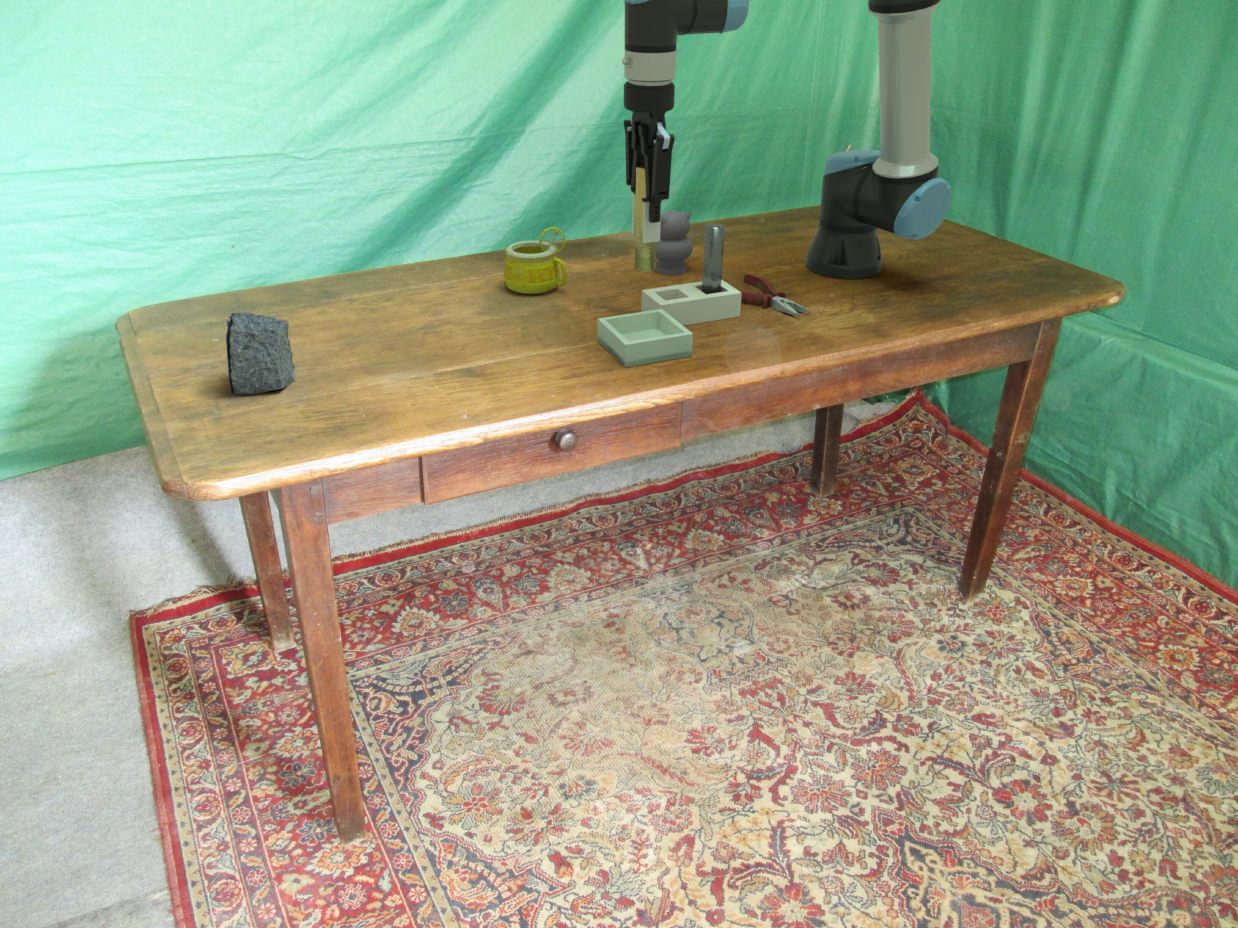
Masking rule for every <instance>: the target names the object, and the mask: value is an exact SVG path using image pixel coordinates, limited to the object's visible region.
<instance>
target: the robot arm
mask: <svg viewBox="0 0 1238 928" xmlns="http://www.w3.org/2000/svg"><path fill="white" fill-rule="evenodd" d="M752 1H753V0H623V2H624V58H622V59H621V63H622V65H623V66H624V67H623V68H624V70H623V71H624V75H623V77H624V78H625V79H626V80H628V81H626V82H625V83H624V84H623V107H624V109H626V110H627V111H630V112H632V114H631V119H624V120H623V128H624V129H623V130H624V134H625V135H624V136H625V142H624V143H625V181H626V182H625V183H626V185H627V186H630V192H631V193H632V205H631V206H632V211H631V212H632V213H631V215H632V216H631V217H632V219H631V220H632V221H631V230H632V231H631V235H633V237H635V204H636V167H637V166H639V165H645V183H646V198H642V201H643V236H642V242H643V243H649V242H657V241H660V225H661V214H662V201H664V200H669V199H670V189H671V188H670V187H671V171H672V157H673V156H672V154H673V148H674V144H675V141H676V140H675V139H676V138H675V134H674V133H670V134H669V133H667V129H666V128H667V123H666V116H665V115H666V113H667V112H670V111H672V110H673V109H674V107H675V95H676V94H675V93H676V90H675V89H676V85H675V83H674V82H673V81H674V80H675V79H676V74H677V43H678V42H677V41H678V36H685V35H699V34H700V35H702V34H719V35H722V34H724V33H727V32H734V31H737V30H739V29H740V28H741V27H742V26H744V24H745V22H746V20H747V17H748V14H749V9H750V8H749V6H750V5H749V3H750V2H752ZM941 2H942V0H867V3H868V12H869V13H870V14H871V15H872V16H873V17H875V18H876V19H877V26H878V28H877V30H878V31H877V32H878V73H879V75H878V79H879V81H878V84H879V85H878V86H879V90H878V91H879V134H880V137H879V140H880V150H877V149H875V150H874V149H859V150H857V149H856V150H844V151H837V152H834V153H832V154H830V155H829V156H828V157H827V159H826V162H825V169H824V173H823V177H822V178H823V180H822V188H821V200H820V208H819V209H820V210H819V218H818V219H819V221H818V228H817V230H816V233H815V234H814V237H813V239H812V242H811V245H810V248H809V249H808V251H807V253H806V259H805V265H806V267H807V269H809V270H810V271H811V272H814V273H816V274H819V275H821V276H826V277H829V278H837V279H849V280H850V279H865V278H870V277H873V276H876V275H878V274H879V273H880V272H881V270H882V266H883V265H882V263H883V257H882V251H881V246H880V240H879V235H878V229H879V230H883V231H884V232H885V231H886V232H888V233H890V234H894V235H896V236H897V237H899V238H906V239H910V240H921V239H924V238H926V237H928V236H931V234H933V232H934V231H936V230H937V229H938V228H939V227H940V226H941V224H942V222H944V219H945V218H946V216H947V214H948V212H949V210H950V207H951V204H952V198H953V192H952V187H951V185H950V184H949V183H948V181H947V180H946V179H944V178H942V177H939V159H938V157H937V156H936V155H935V154H933V153H932V152H931V81H932V80H931V79H932V78H931V75H932V74H931V68H932V64H931V62H932V61H931V60H932V58H931V56H932V45H931V44H932V14H933V12H934V10H935V9H936V8H937V7H938V6H939V5H940V4H941Z"/></svg>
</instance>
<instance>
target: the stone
mask: <svg viewBox="0 0 1238 928" xmlns="http://www.w3.org/2000/svg"><path fill="white" fill-rule="evenodd" d="M226 323H227V324H226V326H227V331H226V334H225V343H226V358H227V368H228V370H227V372H228V379H229V386H230V391H231V394H235V395H237V396H244V395H258V394H259V393H260V394H261V393H267V392H270V391H271V392H272V391H275V390H282V389H284V388H288V387H289V386H290V385H291V384H292V382H293V381H294V380H295V368H296V367H295V364H294V361H293V357H294V356H293V355H294V354H293V352H292V346H291V342H290V341H291V340H290V338H289V327H290V324H289V322H288V320H286V319H283V318H281V319H280V318H276V317H272V316H266V315H261V314H256V313H252V312H233V313H231V314H230V315H229V316H228V318H227V319H226Z"/></svg>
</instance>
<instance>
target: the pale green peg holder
mask: <svg viewBox="0 0 1238 928" xmlns="http://www.w3.org/2000/svg"><path fill="white" fill-rule="evenodd" d="M738 290H739V289H737V288H735V287H734V286H732V285H731V284H729V283H728V282H726V281H725V280H723V278H722V279H721V292H719V293H712V294H705V293H703V292H702V281H698V282H697V281H696V282H688V283H682V284H676V285H668V286H662V287H655V288H648V289H647V288H646V289H642V290H641V307H640V308H641V309H640V310H641V311H640V312H644V311H651V310H657V309H663V310H664V311H665V312H666V313H668V314H669V315H670V316H671V317H673V318H674V319H675V320H676V321H678V322H679V323H680V324H681V325H683V326H684V327H685V326H688V325H695V324H696V325H697V324H703V323H708V322H714V321H720V320H726V319H733V318H738V317H741V308H742V307H741V306H742V305H741V304H742V303H741V296H742V293H741V292H740V291H741V290H740V291H738Z"/></svg>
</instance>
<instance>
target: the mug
mask: <svg viewBox="0 0 1238 928" xmlns="http://www.w3.org/2000/svg"><path fill="white" fill-rule="evenodd" d="M552 230H555V231H554V235H553V237H552V236H551V233H550V231H552ZM545 233H546V234H547V235H548V237H549V238H550V239H542V238H543V236H544V234H545ZM559 234H561V235H562V236H563V238H562V239H560V238H559V239H556V237H557V236H558V235H559ZM555 242H559V243H561V242H562V245H561V246H560V248H558V246H557V245H556V243H555ZM565 246H566V236H565V234H564V231H562V230H561V229H560V228H558V227H555V226H554V227H551V226H550V227H548V228H545V229H544V230H543V231H542V232H541V234H540V235H539V238H538V240H522V241H517V242H514V243H511V244H510V245H509V246H508V247H506V248H505V250H504V251H505V252H504V253H505V259H504V270H503V280H504V284H505V285H506V287H507V288H508V290H511V291H513V292H515V293H520V294H523V295H538V294H545V293H547V292H550V291H552V290H554V289H556V288H559V287H561V286H564V285H566V282H567V279H568V277H567V276H568V273H567V268H566V265H565V264H566V263H564V261H563V260H561V259H560V258H558V256H557V254H558V253H560V252H561V251H562V250H563V249H564V247H565ZM560 267H561V270H562V280H560V279H561V273H560V272H561V271H560Z"/></svg>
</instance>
